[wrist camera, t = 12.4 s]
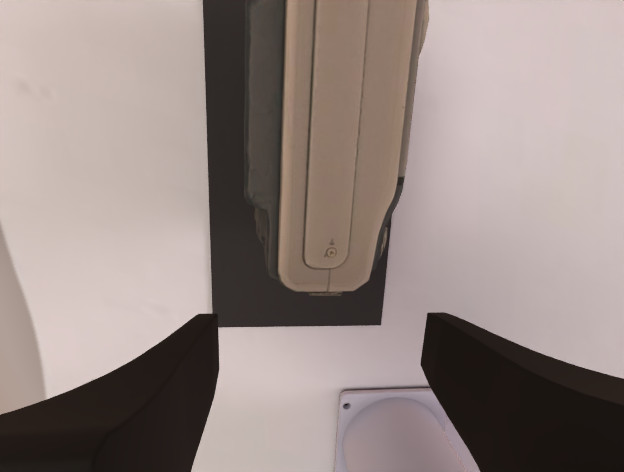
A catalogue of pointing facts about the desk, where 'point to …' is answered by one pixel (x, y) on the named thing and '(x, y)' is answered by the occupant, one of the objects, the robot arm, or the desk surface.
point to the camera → (328, 132)
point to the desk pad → (240, 216)
